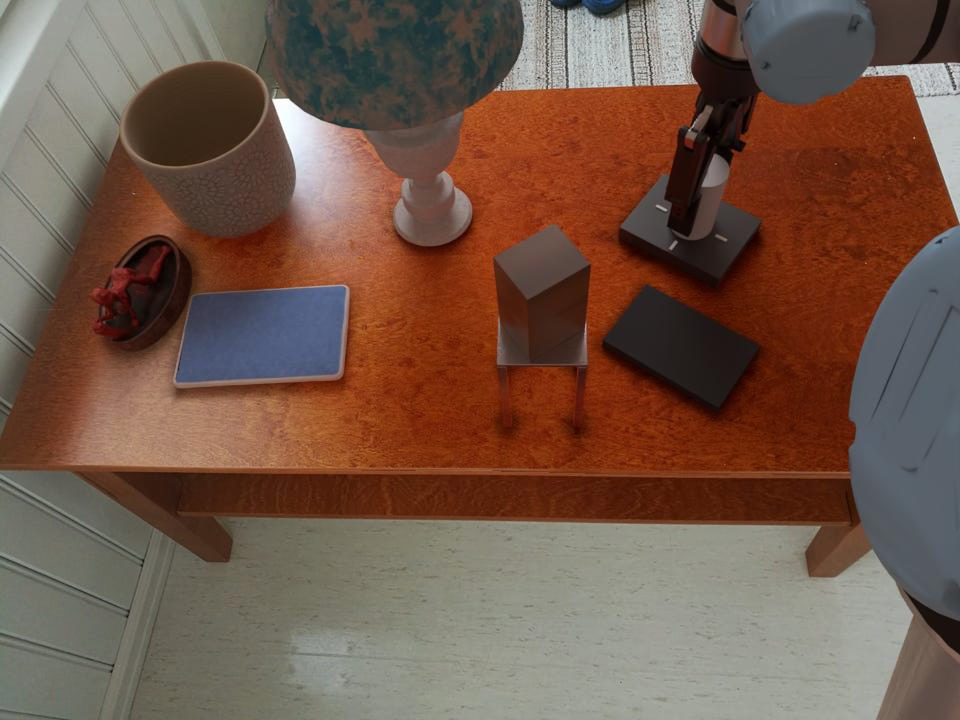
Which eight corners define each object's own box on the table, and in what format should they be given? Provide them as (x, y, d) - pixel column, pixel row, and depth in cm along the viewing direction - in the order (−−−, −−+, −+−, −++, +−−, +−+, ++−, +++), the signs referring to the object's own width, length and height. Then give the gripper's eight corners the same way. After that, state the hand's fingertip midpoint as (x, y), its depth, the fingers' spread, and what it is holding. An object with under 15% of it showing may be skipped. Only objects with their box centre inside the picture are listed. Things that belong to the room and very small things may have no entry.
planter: (297, 254, 90) (254, 167, 77) (165, 257, 92) (100, 171, 78) (316, 152, 98) (280, 55, 85) (194, 155, 100) (140, 62, 86)
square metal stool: (579, 360, 81) (585, 288, 68) (580, 427, 77) (587, 364, 65) (506, 359, 81) (499, 289, 69) (504, 426, 78) (496, 364, 65)
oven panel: (758, 230, 87) (763, 218, 85) (715, 289, 84) (720, 278, 82) (661, 183, 91) (664, 171, 90) (617, 237, 88) (619, 226, 86)
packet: (499, 322, 67) (492, 256, 59) (553, 291, 69) (555, 222, 60) (529, 362, 65) (527, 300, 56) (585, 329, 66) (591, 264, 58)
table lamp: (365, 138, 99) (268, -202, 64) (542, 153, 95) (541, -199, 60) (315, 285, 88) (164, -28, 53) (511, 308, 84) (489, -11, 49)
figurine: (192, 348, 85) (111, 312, 77) (135, 370, 89) (52, 339, 81) (203, 240, 92) (129, 196, 83) (149, 265, 96) (73, 226, 87)
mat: (757, 350, 80) (760, 345, 78) (716, 412, 76) (718, 408, 75) (645, 289, 84) (646, 283, 83) (601, 345, 81) (602, 340, 80)
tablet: (174, 391, 83) (169, 385, 82) (193, 297, 89) (189, 290, 88) (344, 383, 82) (341, 377, 80) (352, 288, 88) (349, 281, 86)
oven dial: (682, 199, 87) (696, 142, 79) (720, 218, 86) (739, 161, 78) (660, 227, 86) (672, 172, 78) (699, 247, 84) (715, 192, 76)
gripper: (755, -39, 68) (706, 144, 88) (645, 84, 61) (620, 251, 82) (833, -12, 65) (764, 170, 86) (727, 120, 59) (680, 283, 79)
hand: (694, 209), depth 84 cm, fingers open, 6 cm apart
